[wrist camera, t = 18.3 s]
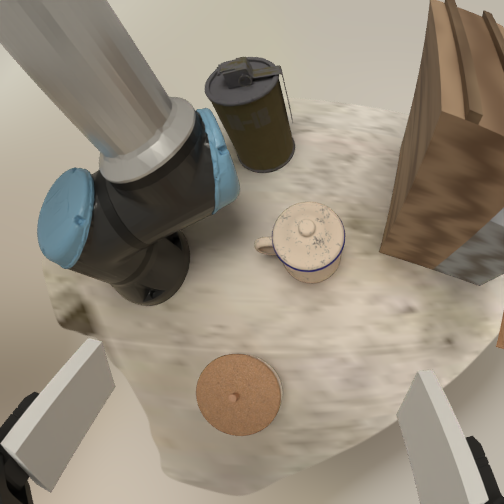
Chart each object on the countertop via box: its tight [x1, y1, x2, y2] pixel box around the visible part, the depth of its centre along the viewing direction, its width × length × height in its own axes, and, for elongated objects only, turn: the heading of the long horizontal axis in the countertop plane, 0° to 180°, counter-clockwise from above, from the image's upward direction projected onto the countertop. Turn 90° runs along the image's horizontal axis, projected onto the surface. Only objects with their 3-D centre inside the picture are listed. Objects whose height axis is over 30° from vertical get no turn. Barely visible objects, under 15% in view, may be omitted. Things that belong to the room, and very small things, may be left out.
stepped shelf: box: [379, 0, 504, 286], centre depth 27 cm, size 18×20×31 cm
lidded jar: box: [196, 354, 282, 436], centre depth 37 cm, size 11×11×9 cm
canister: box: [205, 57, 295, 173], centre depth 43 cm, size 11×10×20 cm
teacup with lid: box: [254, 202, 345, 283], centre depth 40 cm, size 12×9×12 cm
